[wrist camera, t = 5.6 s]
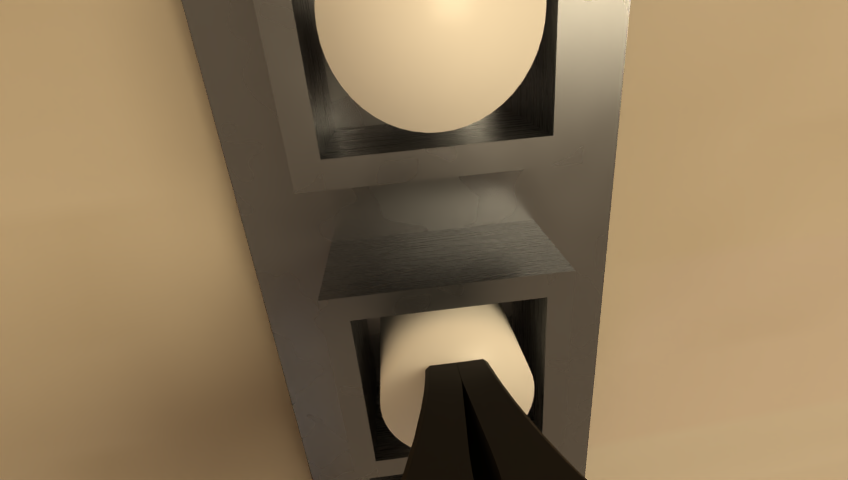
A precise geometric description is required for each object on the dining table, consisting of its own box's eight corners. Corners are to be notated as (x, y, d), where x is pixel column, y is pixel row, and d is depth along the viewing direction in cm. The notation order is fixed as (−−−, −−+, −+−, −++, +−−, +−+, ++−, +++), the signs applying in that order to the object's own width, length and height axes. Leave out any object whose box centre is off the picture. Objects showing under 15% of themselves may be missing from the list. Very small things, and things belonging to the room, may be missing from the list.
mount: (569, 517, 20) (611, 625, 16) (340, 549, 19) (331, 668, 16) (627, -205, 10) (774, -348, 6) (152, -171, 9) (6, -303, 6)
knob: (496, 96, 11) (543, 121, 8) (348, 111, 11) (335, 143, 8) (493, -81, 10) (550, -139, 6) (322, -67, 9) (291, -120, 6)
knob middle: (499, 355, 14) (533, 445, 11) (388, 369, 14) (389, 464, 11) (497, 254, 13) (536, 326, 10) (372, 269, 13) (370, 346, 10)
